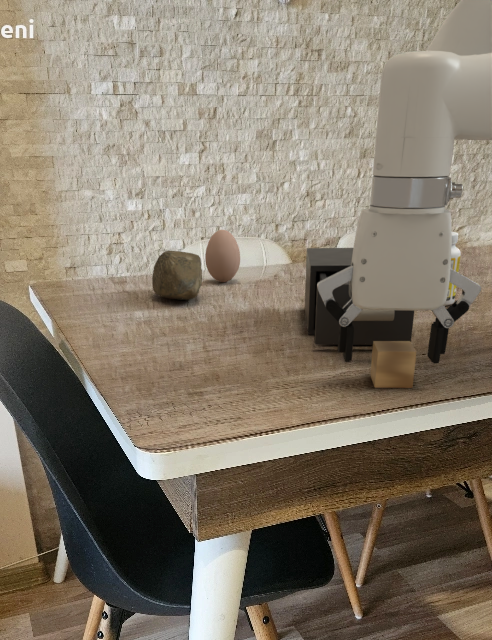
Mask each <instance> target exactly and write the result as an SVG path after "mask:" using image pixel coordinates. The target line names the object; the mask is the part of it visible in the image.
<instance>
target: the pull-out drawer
mask: <svg viewBox="0 0 492 640" xmlns="http://www.w3.org/2000/svg"><path fill="white" fill-rule="evenodd" d="M338 272H340V271H320V272H317V284H318V282H320V281H322V280H324V279H326V278H328V277H330V276H332V275H334V274H336V273H338ZM332 294H333V296H334V299H335V300H336V301H337V302H338V304H339V305H340V306H341V307H342V308H343V307H344V306H345V305H346V304H347V303H348V302H349V300H350V299H351V297H350V296H349V282H347V283H345V284H343V285H341V286H339V287H337V288H335V289H334V290H333V292H332ZM315 316H316V323H315V335H314V345H316V346H317V345H318V346H322V345H323V346H324V345H327V346H331V345H333V346H335V345H337V346H338V340H339V327H340V324H339V322H338V321H337V320H336V319H335V318H334V317H333V316H332V315H331V314H330V313H329V311H328V310H327V309H326V307H325V304H324V302H323V300H322V298H321V296H320V293H319V291H318V288H317V291H316V315H315ZM414 318H415V311H411V310H366V309H363V310H362V311H361V312H360V313H359V314H358V315H357V317H356V318H355V319H354V320H353V321H352V324H353V326H354V338H353V346H354V345H357V346H358V345H360V346H365V345H370V346H373V341H410V342H411V343H412V336H413V326H414Z"/></svg>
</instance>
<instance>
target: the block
mask: <svg viewBox="0 0 492 640" xmlns="http://www.w3.org/2000/svg"><path fill="white" fill-rule="evenodd" d="M371 352H372V353H371V361H370V362H371V364H370V378H371V381H372V384H373V386H374V388H377V389H379V388H380V389H381V388H386V389H387V388H388V389H393V388H395V389H399V388H400V389H412V388H413V386H414V377H415V368H416V361H417V350H416V348H415V347H414V345H413V343H412V341H411V342H410V341H373V345H372V351H371Z"/></svg>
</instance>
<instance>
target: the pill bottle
mask: <svg viewBox="0 0 492 640" xmlns="http://www.w3.org/2000/svg"><path fill="white" fill-rule="evenodd" d="M458 241H459V232H455V231H452V247H451V269H453V270H455V271H457V272H458V273H460V272H459V271H460V264H461V263H460V262H461V256H462V254H461V250H460V249H459V248H458V246H456V245H457V244H458ZM457 288H458V287H457V286H455V285H454V284H452V283H450V282H449V289H448V295H447V299H446V302H445V304H444V307H447V306H451V305H452V304H453V303H454V302H455V301H456V294H457Z"/></svg>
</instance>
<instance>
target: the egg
mask: <svg viewBox="0 0 492 640" xmlns="http://www.w3.org/2000/svg"><path fill="white" fill-rule="evenodd" d="M206 245H207V246H206V249H205V255H204V256H205V259H204V260H205V267H206V270H207V272H208V274H209V275H210V276H211V277H212V278H213V279H214V280H215V281H217V282H219V283H226V282H227V283H228V282H229V281H232V279H234V277H235V276H236V274H237V273H238V271H239V269H240V266H241V250H240V247H239V244H238V242H237V240H236V238H235V236H234V235H233V234H232V233H231V232H230V231H229V230H226V229H218V230H216V231H215V232H214V233H213V234H212V235H211V237H210V238H209V240H208V243H207V244H206Z"/></svg>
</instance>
